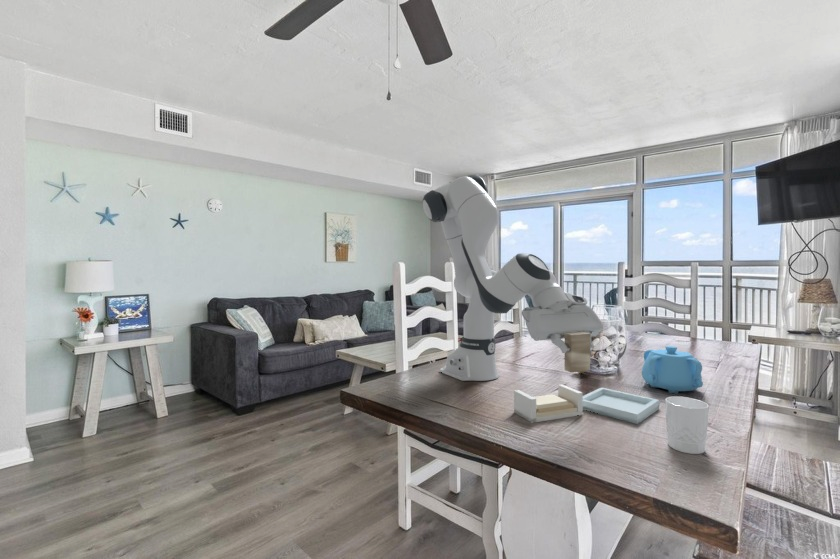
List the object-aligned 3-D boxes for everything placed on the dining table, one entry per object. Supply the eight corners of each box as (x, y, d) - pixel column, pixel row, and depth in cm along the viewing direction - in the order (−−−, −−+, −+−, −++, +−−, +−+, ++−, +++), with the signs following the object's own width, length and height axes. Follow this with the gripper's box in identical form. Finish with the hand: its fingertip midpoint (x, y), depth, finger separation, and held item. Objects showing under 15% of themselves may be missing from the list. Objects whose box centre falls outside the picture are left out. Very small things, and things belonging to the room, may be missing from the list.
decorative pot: (699, 385, 133) (699, 344, 133) (704, 399, 119) (704, 353, 119) (642, 379, 141) (643, 340, 141) (641, 391, 127) (642, 348, 127)
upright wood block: (564, 370, 98) (564, 333, 97) (582, 368, 100) (582, 332, 99) (571, 372, 95) (571, 335, 95) (590, 370, 97) (590, 333, 97)
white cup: (663, 449, 86) (664, 403, 86) (665, 436, 93) (666, 394, 93) (708, 459, 82) (709, 411, 82) (707, 445, 89) (708, 400, 88)
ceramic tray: (576, 407, 112) (576, 399, 112) (601, 395, 123) (601, 387, 123) (637, 424, 100) (637, 414, 100) (659, 408, 111) (659, 399, 111)
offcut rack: (514, 412, 109) (514, 390, 109) (562, 405, 114) (562, 384, 114) (531, 422, 102) (531, 399, 101) (582, 414, 107) (582, 392, 107)
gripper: (524, 300, 100) (548, 346, 91) (590, 297, 107) (619, 340, 98) (514, 315, 104) (537, 361, 95) (578, 312, 111) (605, 354, 102)
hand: (579, 350), depth 97 cm, fingers closed on upright wood block, 5 cm apart
